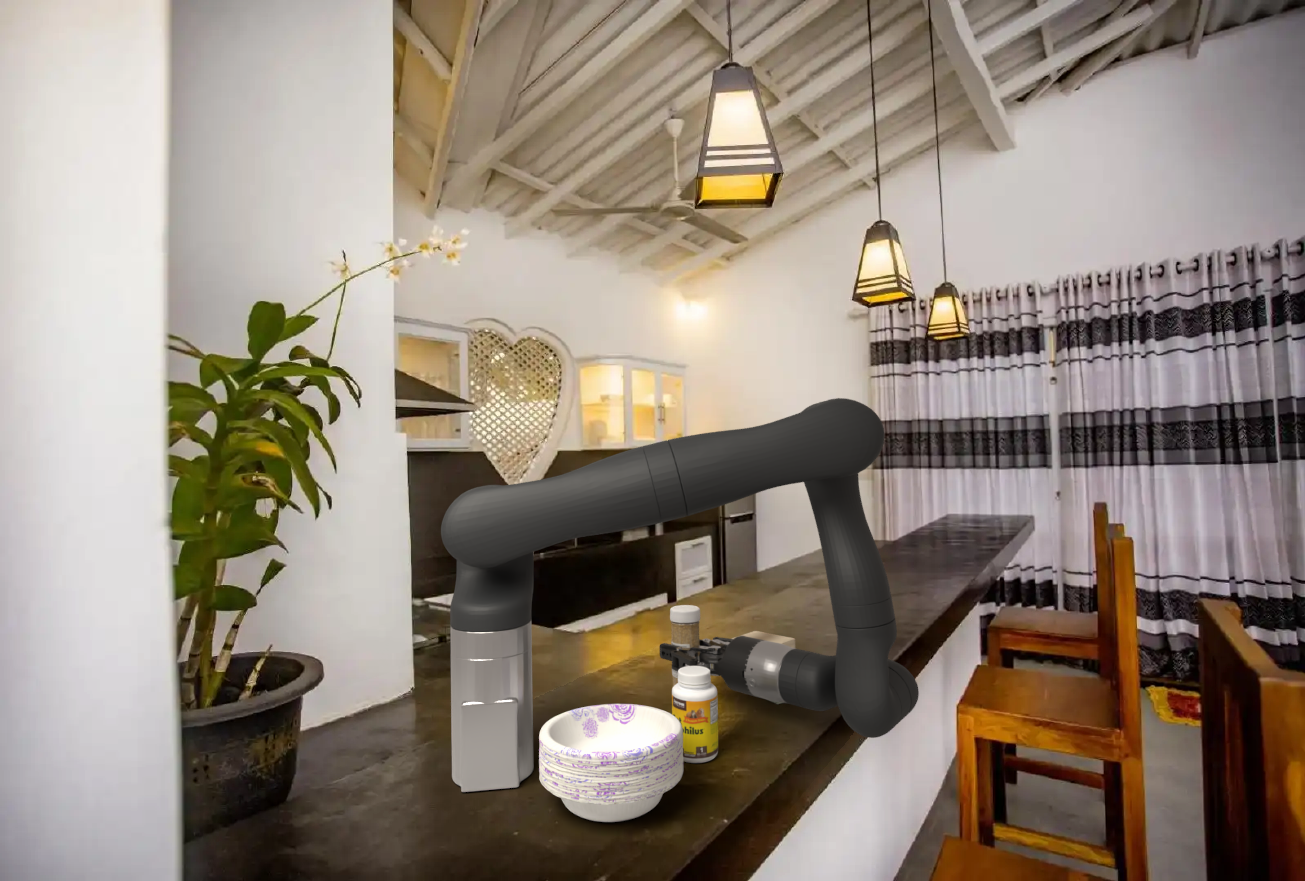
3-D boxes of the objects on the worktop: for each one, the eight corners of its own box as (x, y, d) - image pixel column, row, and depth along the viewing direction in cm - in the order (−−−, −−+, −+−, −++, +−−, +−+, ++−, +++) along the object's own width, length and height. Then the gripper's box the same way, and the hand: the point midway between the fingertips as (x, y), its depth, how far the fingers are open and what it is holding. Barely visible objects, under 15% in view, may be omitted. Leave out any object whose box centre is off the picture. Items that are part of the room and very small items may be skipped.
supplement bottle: (664, 759, 82) (662, 673, 82) (685, 742, 87) (683, 661, 87) (706, 769, 79) (705, 680, 79) (726, 750, 84) (724, 666, 84)
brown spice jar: (707, 697, 102) (706, 607, 103) (683, 704, 100) (681, 611, 100) (689, 689, 106) (688, 602, 107) (665, 695, 104) (664, 606, 104)
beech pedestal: (796, 675, 112) (795, 638, 112) (768, 687, 106) (767, 648, 107) (756, 665, 118) (755, 630, 118) (727, 676, 112) (726, 640, 112)
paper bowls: (633, 756, 83) (632, 690, 83) (713, 808, 70) (712, 730, 70) (516, 793, 74) (515, 719, 74) (583, 859, 62) (581, 770, 62)
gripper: (792, 631, 98) (701, 614, 110) (731, 652, 88) (638, 631, 100) (793, 683, 98) (702, 660, 110) (732, 711, 88) (639, 682, 100)
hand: (672, 646), depth 105 cm, fingers closed on brown spice jar, 4 cm apart
